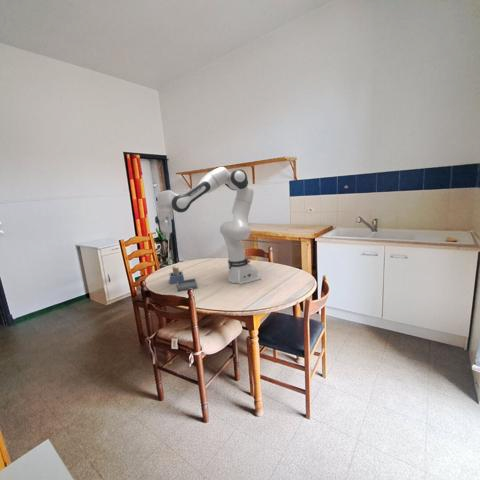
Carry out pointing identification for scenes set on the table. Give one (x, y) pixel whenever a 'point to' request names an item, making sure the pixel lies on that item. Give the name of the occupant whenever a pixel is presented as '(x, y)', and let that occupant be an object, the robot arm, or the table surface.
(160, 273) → the table surface
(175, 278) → the blue socket block
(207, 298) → the table surface
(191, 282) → the tray
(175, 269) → the peg
